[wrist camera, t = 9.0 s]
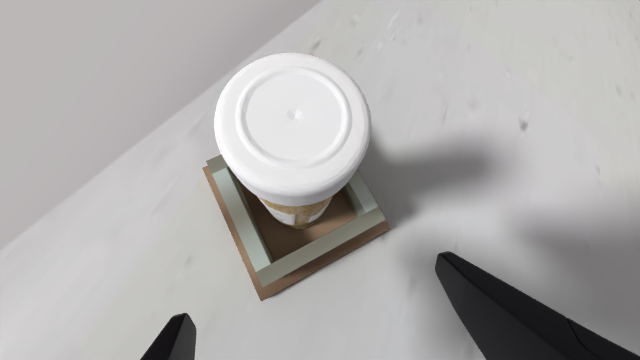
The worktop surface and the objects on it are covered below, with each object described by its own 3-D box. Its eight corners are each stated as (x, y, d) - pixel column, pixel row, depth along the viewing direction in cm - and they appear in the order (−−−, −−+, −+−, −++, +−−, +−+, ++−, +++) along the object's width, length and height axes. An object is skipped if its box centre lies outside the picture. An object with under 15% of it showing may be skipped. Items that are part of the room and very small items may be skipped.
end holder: (386, 229, 21) (406, 225, 17) (262, 299, 19) (253, 312, 15) (324, 119, 23) (329, 94, 19) (205, 170, 21) (186, 154, 17)
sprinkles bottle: (333, 218, 20) (401, 164, 7) (277, 238, 19) (234, 220, 6) (314, 165, 21) (341, 30, 8) (260, 182, 20) (190, 65, 7)
